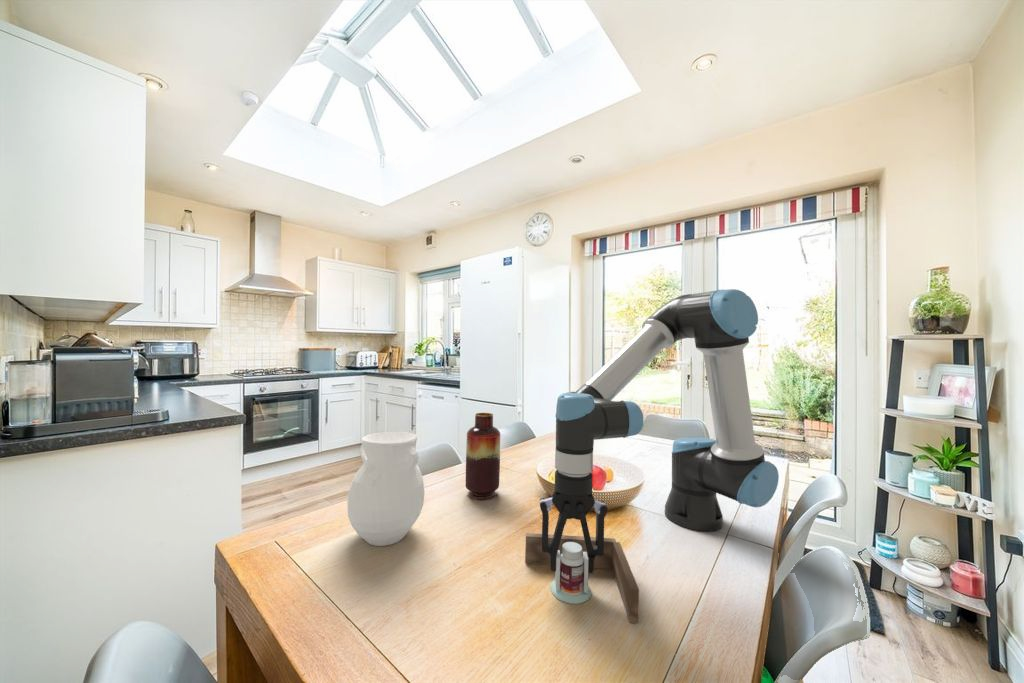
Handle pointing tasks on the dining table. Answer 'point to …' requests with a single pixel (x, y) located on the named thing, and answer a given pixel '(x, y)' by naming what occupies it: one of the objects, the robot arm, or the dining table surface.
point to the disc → (570, 599)
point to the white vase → (386, 488)
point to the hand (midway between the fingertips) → (571, 586)
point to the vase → (483, 458)
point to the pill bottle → (571, 569)
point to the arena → (608, 560)
